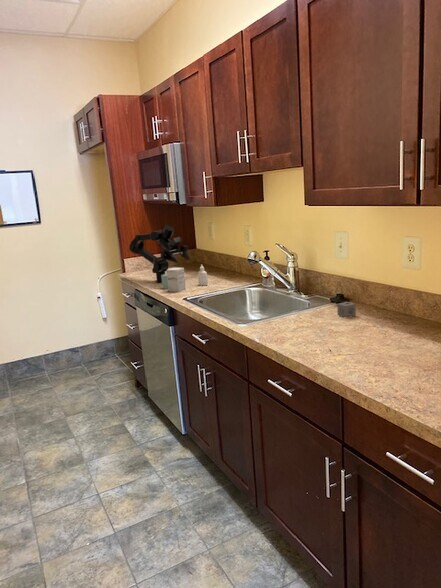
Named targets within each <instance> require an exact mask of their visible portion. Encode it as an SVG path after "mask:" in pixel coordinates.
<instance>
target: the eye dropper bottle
mask: <svg viewBox="0 0 441 588" xmlns="http://www.w3.org/2000/svg"><path fill="white" fill-rule="evenodd" d="M197 279H198V285H199V286H203V287H204V286H205V287H206V286H208V284H209V283H208V273H207V271H205V267H204V266H203V264H200V267H199V271H198V272H197Z"/></svg>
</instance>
